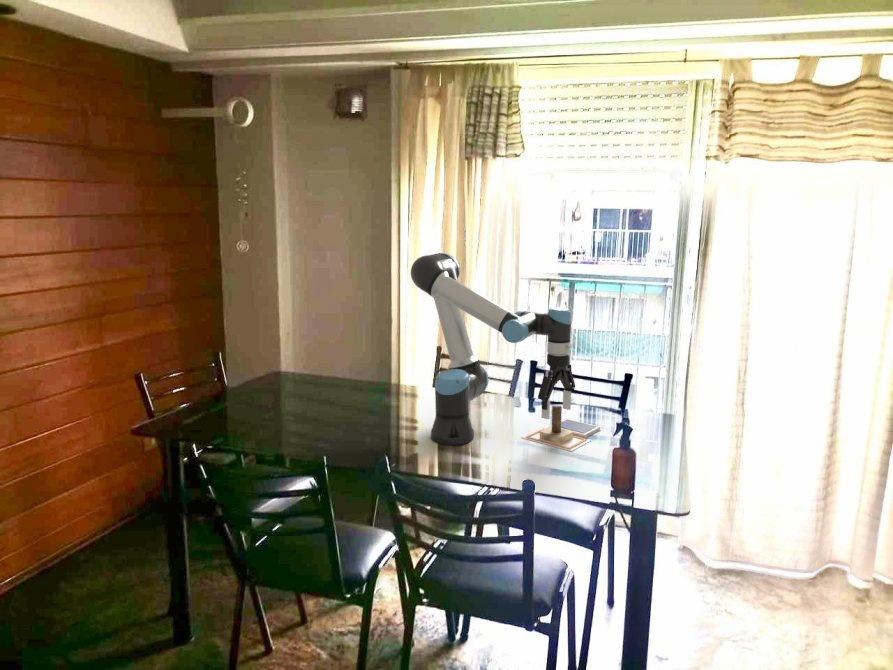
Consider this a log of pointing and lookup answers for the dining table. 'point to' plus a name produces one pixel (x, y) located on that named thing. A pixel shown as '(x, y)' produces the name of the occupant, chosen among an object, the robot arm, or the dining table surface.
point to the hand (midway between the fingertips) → (556, 413)
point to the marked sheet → (569, 445)
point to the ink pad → (579, 428)
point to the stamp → (556, 429)
